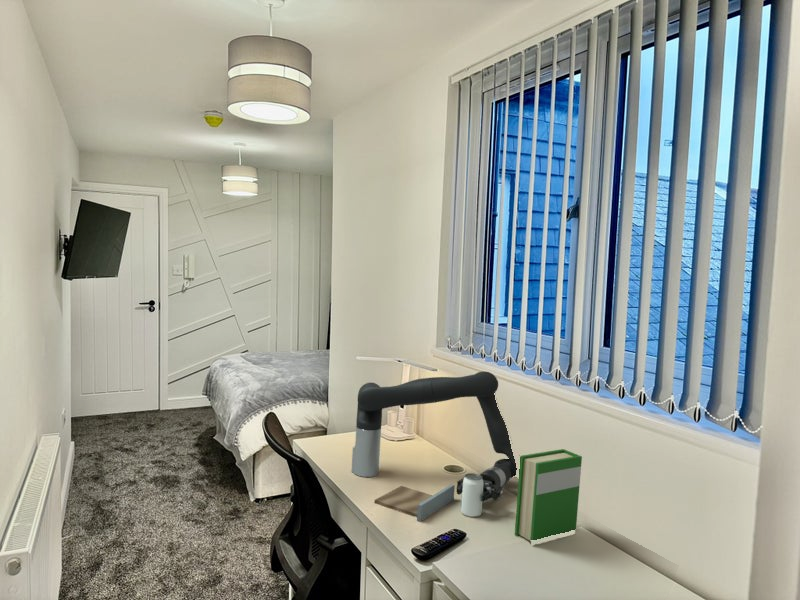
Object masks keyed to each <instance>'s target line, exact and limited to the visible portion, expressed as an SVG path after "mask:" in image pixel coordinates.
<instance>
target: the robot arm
mask: <svg viewBox="0 0 800 600" xmlns="http://www.w3.org/2000/svg"><path fill="white" fill-rule="evenodd" d="M498 389H499V380H498V378H497V377H496V375H494V373H491V372H489V371H479V372H476V373H475V374H469V375H465V376H458V377H455V376H452V377H451V376H448V377H447V376H435V377H425V378H418V379H414V380H410V381H407V382H404V383H401V384H397V385H392V386H380V385H379V384H377V383H375V382H366V383H365V384H362V386H361V387H360V388H359V390H358V395H357V407H356V408H357V409H356V410H357V411H356V422H355V423H356V425H355V443H354V445H353V447H352V453H351V454H352V455H351V457H352V458H351V473H353V474H354V475H356V476H359V477H365V478H371V477H376V476H378V475H379V470H380V457H381V456H380V455H381V453H380V452H381V437H382V436H381V435H382V419H383V410H384V409H388V408H392V407H400V406H401V407H402V406H416V405H425V404H426V405H427V404H436V403H440V402H441V403H442V402H446V401H450V400H455V399H459V398H472V397H474V398H475V397H476V399H477V401H478V404H479V405H480V408H481V410H482V414H483V417H484V420H485V423H486V427H487V431H488V434H489V438H490V441H491V444H492V446H493V447H492V448H493V450H494V453H496V454H502V455H505V456H506V458H509V459H505V458H500V459H498V460H496V461H495V462H494V463H493V466H491V467H490V468H487V469H486V470H483V472H481V473H479V475H481V476H482V477H483V478H482V479H483V494H482V496H481V501H482V503H484V502H486V501H488V500H492V499H493V500H494V501H497V500H499V499H500V498H501V497H502V496H503V491H504V490H503V489H504V488H503V486H505V484H507V483H508V482H509V481H510V480H511V479H512V477H513V476H515V475H516V470H517V468H516V463H515V459H514V456H513V452H512V449H511V444H510V440H509V435H508V431H509V430H508V431H507V428H508V427H507V428H506V426H507V424H506V425H505V423H506V421H505V419H504V417H503V415H502V416H501V414H502V413H501V414H500V412H501V410H500V411H499V409H500V408H499V409H498V407H499V406H498V407H497V404H498V402H497V403H496V400H497V399H496V400H495V395H496V392H497V390H498ZM494 393H495V395H494ZM502 417H503V418H502ZM503 419H504V420H503ZM504 421H505V422H504ZM464 478H465V477H463V478H460V479H458V481H457V483H456V494H457V495H462V491H463V480H464Z"/></svg>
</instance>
